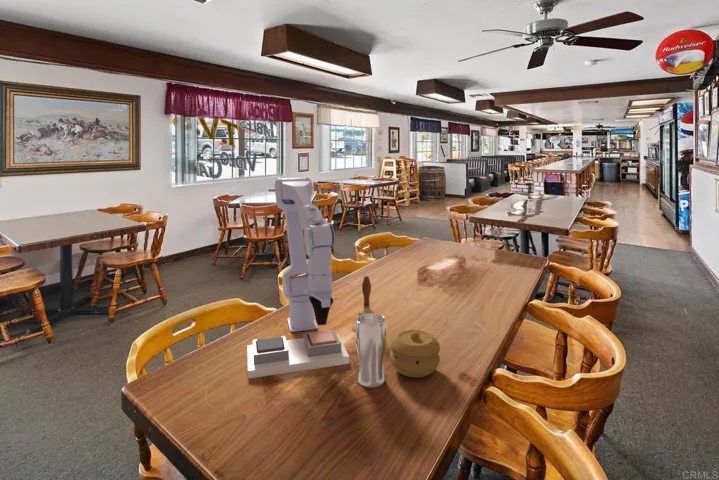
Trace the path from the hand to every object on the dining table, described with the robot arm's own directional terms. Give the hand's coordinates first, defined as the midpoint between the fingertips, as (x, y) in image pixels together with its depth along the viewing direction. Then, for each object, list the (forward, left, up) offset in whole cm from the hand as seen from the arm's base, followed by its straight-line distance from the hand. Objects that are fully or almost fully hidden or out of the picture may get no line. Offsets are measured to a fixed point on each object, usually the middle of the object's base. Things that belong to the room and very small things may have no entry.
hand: (321, 324), depth 103 cm
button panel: (0, -6, -8) cm, 11 cm away
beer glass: (+15, +9, -9) cm, 19 cm away
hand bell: (-12, +16, -9) cm, 21 cm away
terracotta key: (0, 0, -7) cm, 7 cm away
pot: (+14, +20, -9) cm, 25 cm away
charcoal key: (0, -13, -7) cm, 15 cm away
